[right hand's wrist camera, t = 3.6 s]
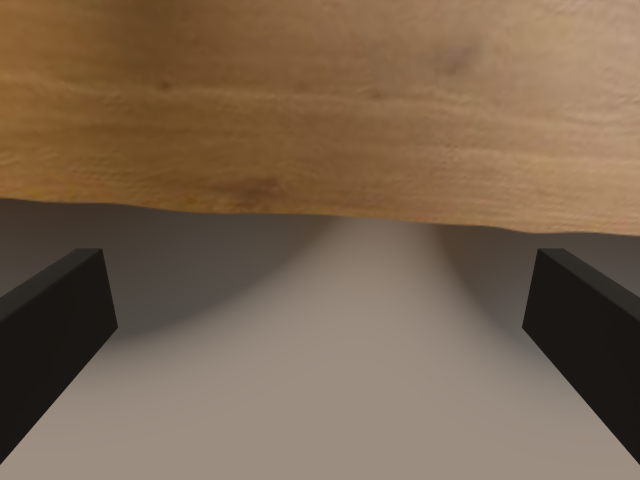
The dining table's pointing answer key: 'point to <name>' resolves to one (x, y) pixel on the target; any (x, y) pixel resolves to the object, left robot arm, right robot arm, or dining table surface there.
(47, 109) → the dining table surface
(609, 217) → the dining table surface
